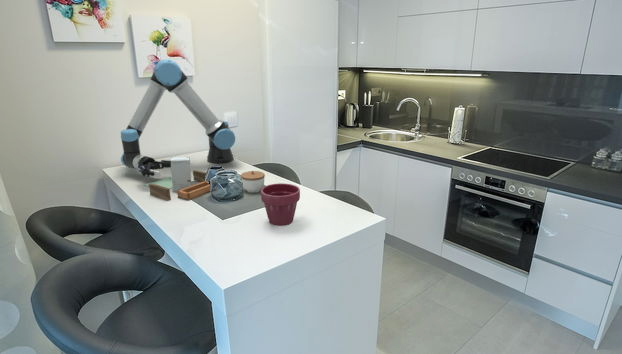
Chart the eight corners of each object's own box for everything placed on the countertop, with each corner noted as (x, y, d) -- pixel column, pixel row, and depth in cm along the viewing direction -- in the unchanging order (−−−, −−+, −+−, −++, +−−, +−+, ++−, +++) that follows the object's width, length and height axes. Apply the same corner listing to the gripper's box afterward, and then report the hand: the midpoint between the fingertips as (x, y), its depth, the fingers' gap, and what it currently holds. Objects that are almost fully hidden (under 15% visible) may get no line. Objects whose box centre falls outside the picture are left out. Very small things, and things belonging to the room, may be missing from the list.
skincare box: (173, 192, 158) (169, 160, 153) (173, 187, 163) (170, 157, 159) (192, 190, 160) (189, 159, 156) (192, 186, 166) (189, 156, 161)
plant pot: (280, 210, 141) (280, 180, 137) (307, 219, 132) (307, 188, 128) (254, 221, 130) (252, 189, 126) (281, 233, 122) (280, 199, 118)
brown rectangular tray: (206, 186, 165) (205, 180, 164) (215, 189, 162) (215, 183, 161) (177, 197, 152) (177, 190, 151) (187, 200, 149) (187, 194, 148)
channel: (196, 179, 175) (195, 169, 174) (212, 183, 169) (212, 174, 168) (150, 194, 155) (148, 184, 153) (167, 200, 149) (166, 189, 147)
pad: (169, 177, 177) (169, 176, 177) (188, 182, 170) (188, 182, 170) (144, 185, 166) (144, 184, 166) (163, 191, 159) (163, 190, 159)
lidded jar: (263, 194, 156) (262, 174, 153) (239, 194, 157) (238, 174, 154) (266, 186, 167) (266, 167, 164) (244, 186, 167) (243, 167, 164)
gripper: (167, 165, 183) (194, 172, 173) (121, 177, 163) (149, 186, 153) (165, 151, 181) (193, 157, 170) (118, 162, 161) (146, 170, 150)
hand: (172, 171), depth 161 cm, fingers open, 13 cm apart
